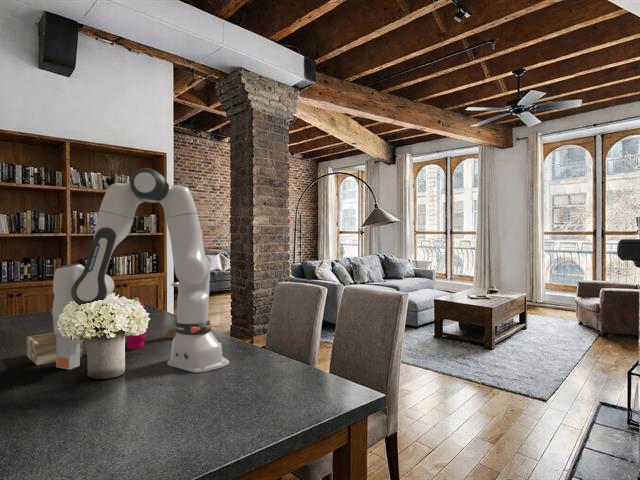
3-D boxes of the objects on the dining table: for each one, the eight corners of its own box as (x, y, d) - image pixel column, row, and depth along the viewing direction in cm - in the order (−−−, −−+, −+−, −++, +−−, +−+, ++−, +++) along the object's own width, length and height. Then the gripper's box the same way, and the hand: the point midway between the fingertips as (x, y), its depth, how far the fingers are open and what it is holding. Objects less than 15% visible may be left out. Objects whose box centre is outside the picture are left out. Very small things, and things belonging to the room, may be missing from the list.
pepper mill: (140, 350, 157) (141, 299, 157) (122, 349, 158) (122, 298, 157) (148, 344, 165) (149, 296, 164) (131, 344, 165) (131, 296, 164)
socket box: (82, 356, 148) (82, 337, 148) (37, 365, 138) (37, 345, 137) (69, 347, 159) (69, 330, 159) (26, 355, 148) (26, 336, 148)
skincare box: (55, 367, 135) (55, 332, 135) (66, 364, 139) (67, 329, 139) (69, 369, 134) (69, 334, 133) (80, 366, 138) (80, 331, 138)
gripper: (89, 314, 132) (88, 356, 132) (70, 306, 146) (69, 344, 146) (67, 317, 127) (66, 360, 127) (49, 308, 141) (49, 347, 141)
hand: (68, 351), depth 137 cm, fingers closed on skincare box, 7 cm apart
